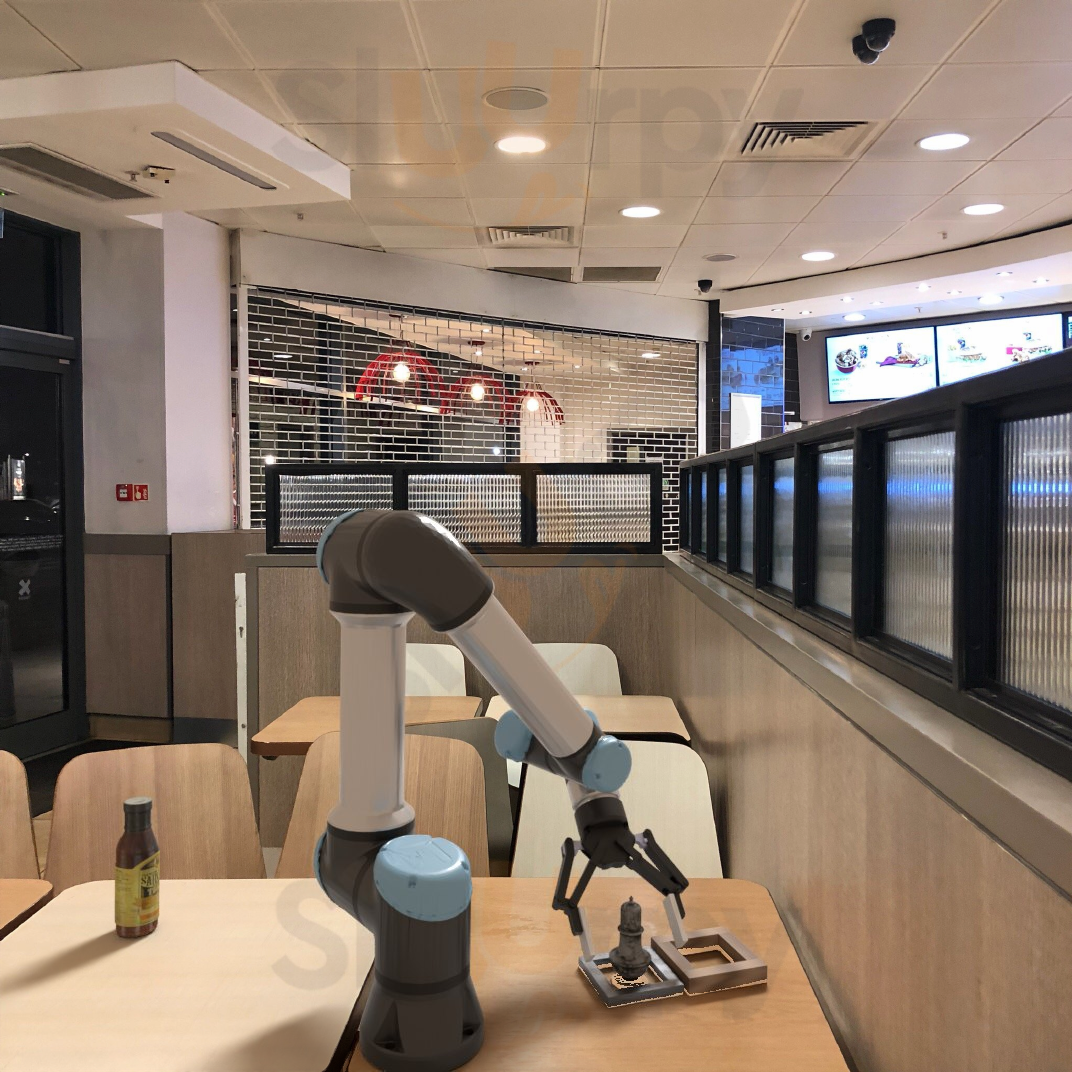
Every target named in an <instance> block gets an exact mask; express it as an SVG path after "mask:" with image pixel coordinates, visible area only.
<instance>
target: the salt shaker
mask: <svg viewBox="0 0 1072 1072" xmlns="http://www.w3.org/2000/svg"><path fill="white" fill-rule="evenodd" d="M619 920H620V921H619V922H620V923H619V925H618V926H617V931H618V932H619V943H618V946H615V947H613V948H611V950H609V951H608V952H609V958H610V960H611V964H612V966H613V967H612V969H613V970H614V973H615V974H616V972H617V973H618V974H619V975H618V974H617V976H622V978H623V979H624V980H626V981H634V980H637V979H638V977H640V976H642V975H643V974H644V975H645V973H646V972H647V971H648V969H649V968H648V966H649V963H650V961H651V959H652V958H651V954H650V953H649V952H648V951H647V950H645V949H644V948H642V947H643V946H642V936H643V935H642V934H643V933H644V932H645V927H644V926H642V906H641V904H640V903H638V902H636V901H634V897H633V896H632V895H630V896H629V897H628V900H627V901H624V902H623V903H622V904H621V906H620V919H619ZM614 977H616V976H614ZM616 979H620V978H616ZM616 979H615V980H616ZM621 980H622V979H621ZM616 981H617V982H618V983H617V984H620V985H624V986H638V985H641V984H644V982H642V983H634V984H631V983H621V982H619V981H620V980H616ZM622 982H624V981H622ZM630 984H631V985H630ZM636 984H638V985H636Z"/></svg>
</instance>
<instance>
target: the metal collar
mask: <svg viewBox="0 0 1072 1072" xmlns="http://www.w3.org/2000/svg"><path fill="white" fill-rule="evenodd" d="M642 948H644V949H645V950H647V951H648V952H649V953H650V954H651V958H652V959H651V961H650V963H649V965H650V966H651V967H652V968H653V969H654V971H655V972H656V973H657V975H658V976H659V977H660V978H661V979H662V980H663V982H660V981H657V982H652V983H649V984H645V985H639V986H633V987H627V988H621V989H618V988H614V986H612V985H611V984H612V983H611V982H609V980H608V979H607V978H606V976H605V975H604V973H603V972H602V971H601V969H599V968H598V967H597V966H598V965H602V964H608V963H611V960H610V958H609V952H610V951H606V952H600V953H596V955H595V957H594V958H593V959H592V961H591V962H586V963H585V959H584V955H580V956H578V961H577V962H578V964H579V966H580V967H581V968H582V969H583V971H584V972H585V974H586V975H587V977H588V978H589V980H590V982H591V983H592V985H593V986H594V988H595V989H596V990H597V992H598V993H599V995H598V996H599V998H600V997H601V998H602V999H601V998H600V999H601V1001H602V1000H603V1001H604V1002H605V1003H606V1004H607V1006H608V1007H611V1006H617V1005H621V1004H627V1003H631V1002H635V1001H636V1002H637V1001H641V1000H645V999H651V998H653V999H654V998H657V997H658V998H659V997H666V996H669V995H670V996H671V995H674V994H676V993H682V992H684V984H683V983H682V981H681V980H680V979H679V978H678V977H677V976H676V975H675V974H674V973H673V972H672V970H671V969H670V968H669V967H668V966H667V965H666V964H665V963H664V962H663V960H662V959H661V958H660V957H659V956H658V955H657V954H656V953H655V952H654V951H653V949H652V948H651V945H646V946H645V945H644V946H642ZM578 964H577V965H578ZM590 982H589V983H590ZM592 985H591V986H592ZM594 988H593V989H594ZM595 989H594V990H595ZM597 992H596V993H597ZM684 993H685V992H684ZM603 1001H602V1002H603ZM604 1002H603V1003H604ZM605 1003H604V1004H605ZM607 1006H606V1007H607Z"/></svg>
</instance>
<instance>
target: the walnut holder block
mask: <svg viewBox="0 0 1072 1072" xmlns="http://www.w3.org/2000/svg"><path fill="white" fill-rule="evenodd" d="M685 932H686V935H687V938H688V941H687V942H686V943H685V944H684V945H683V946H682V947H681V948H676V945H675V941H674V938H673V935H672V933H667V934H662V935H661V934H660V935H655V936H654V935H653V936H650V947H651V948H652V949H653V951H654V952H655V953H656V954H657V955H658V956H659V957H660V958H661V959H662V960H663V962H664V963H665V964H666V965H667V966H668V967H669V968H670V969H671V970H672V972H673V973H674V974H675V975H676V976H677V977H678V978H679V979H680V980H681V981H682V983H683V984H684V988H685V989H686V990H687V992H688V993H689V994H693V993H694V994H695V993H704V992H710V991H716V990H719V989H721V990H722V989H725V988H731V987H736V986H740V985H743V984H749V983H752V982H756V981H760V980H765V979H767V980H768V964H767V963H766V962H764V960H762V959H761V958H760V957H759V956H758V955H757V954H755V952H754V951H752V950H751V949H750V948H749V947H748V946H747V945H746V944H744V943H743V941H741V940H740V939H739V938H737V936H735V935H734V934H733V933H732V932H731V931H730V930H729V929H728V928H726V926H724V925H722V926H721V925H720V926H716V927H715V926H713V927H709V928H708V927H707V928H700V929H694V930H688V931H685ZM713 945H714V946H715V945H719V946H720V947H721V948H722V949H723V950H724V951H725V952H726V953H727V954H728V955H729V956H730V957H731V958H732V959H733V961H734V963H731V962H729V963H724V964H717V965H711V966H705V967H698V968H695V966H694V965H693V964H692V963H690V961H689V960H688V959H687V958H686V957H685V956H683V955H682V954H681V953H680V952H679V951H678V949H683V948H686V949H687V948H691V949H692V948H704V947H709V946H713Z"/></svg>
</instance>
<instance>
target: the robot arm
mask: <svg viewBox="0 0 1072 1072" xmlns="http://www.w3.org/2000/svg"><path fill="white" fill-rule="evenodd" d="M315 559H316V565H317V566H316V567H317V569H318V572H319V574H320V576H321V578H322V579H323V580H324V583H326V585H328V586H329V590H328V592H329V593H328V597H329V598H328V599H329V603H328V608H329V609H328V610H329V613H330V614H331V615H332V616H333V617H334V619H336V620H337V621H338V622H339V625H340V668H339V669H340V678H339V679H340V680H339V681H340V684H339V686H340V688H339V690H340V691H339V692H340V693H339V695H340V696H339V697H340V698H339V699H340V700H339V768H338V769H339V771H338V773H339V777H338V778H339V782H338V783H339V784H338V785H339V786H338V802H337V803H336V804H335V805H334V806H333V808H331V809H330V810H329V811H328V813H327V817H326V827H324V832H323V833H322V834H321V835H319V837H318V839H317V841H316V844H315V847H314V852H313V860H312V861H313V863H312V865H313V872H314V875H315V878H316V881H317V883H318V884H319V886H320V888H321V890H322V891H323V892H324V894H326V897H327V898H328V899H329V900H330V902H332V903H333V904H335V905H337V906H338V908H340V909H342V910H344V911H345V913H348V915H350V916H351V917H352V918H353V919H355V920H356V921H357V922H359V924H361V925H362V926H363V927H364V928H365V929H367V930H368V931H369V932H370V933H372V934H373V937H374V979H373V981H372V982H373V983H372V986H371V988H370V991H369V995H368V998H367V1000H366V1004H365V1007H364V1010H363V1013H362V1016H361V1019H360V1023H359V1050H360V1052H361V1054H362V1056H363V1058H364V1059H365V1060H366V1061H367V1062H368V1063H369V1064H371V1065H372V1066H373V1067H375V1068H376V1069H379V1070H381V1071H383V1072H449V1071H452V1070H454V1069H457V1068H459V1067H461V1066H462V1065H463V1066H464V1064H466V1063H467V1062H469V1061H470V1060H472V1059H473V1057H475V1055H477V1053H478V1052H479V1051H480V1049H481V1048H482V1045H483V1042H484V1035H485V1034H484V1032H485V1031H484V1029H485V1025H484V1024H485V1023H484V1022H485V1021H484V1020H485V1019H484V1014H483V1011H482V1007H481V1004H480V1001H479V998H478V995H477V992H476V989H475V985H474V982H473V979H472V975H471V937H472V936H471V932H472V930H471V929H472V928H471V927H472V924H471V923H472V895H473V892H474V891H473V890H474V889H473V888H474V887H473V881H472V880H473V879H472V872H471V864H470V860H469V857H468V856H467V854H466V853H465V851H464V850H463V849H462V848H461V847H459V846H458V845H457V844H456V843H454V842H452V841H450V840H448V839H445V838H443V837H439V836H438V837H437V836H436V837H434V838H433V837H432V836H431V835H430V834H429V835H428V834H416V812H415V811H416V810H415V809H414V808H413V807H412V806H411V804H410V803H408V802H407V801H406V800H405V749H406V748H405V745H406V743H405V742H406V741H405V740H406V738H405V736H406V684H407V683H406V679H407V678H406V672H407V670H406V668H407V666H406V665H407V626H408V622H409V621H410V620H411V619H412V618H413V617H414V616H415V615H418V616H419V617H420V618H422V619H423V621H425V623H426V624H427V625H428V626H429V628H431V630H433V631H434V632H435V633H437V634H447V635H448V637H449V638H450V639H451V641H452V642H453V643H454V644H455V645H456V646H457V647H458V648H459V650H460V651H461V652H462V653H463V654H464V656H465V657H467V659H468V660H469V661H470V662H471V664H472V665H473V666H474V667H475V668H476V669H477V670H478V672H479V673H480V674H481V675H482V676H483V677H484V678H485V680H486V681H487V682H488V683H489V685H490V686H491V687H492V688H493V689H494V690H495V692H497V694H498V695H499V696H500V697H501V699H502V700H503V701H504V702H505V703H506V704H507V705H508V706H509V708H510V709H509V710H507V711H505V712H504V713H503V714H502V715H501V716H500V717H499V719H498V721H497V724H496V727H495V730H494V735H493V737H494V740H493V742H494V746H495V747H494V748H495V749H496V752H497V753H498V754H499V756H501V757H502V758H504V759H506V760H510V761H512V762H516V763H524V764H528V765H531V766H533V767H535V768H538V769H540V770H543V771H546V772H548V773H551V774H553V775H555V776H559V777H560V778H562V779H564V781H565V785H566V787H567V791H568V796H569V800H570V805H571V807H572V810H573V811H574V815H573V816H574V820H575V824H576V827H577V828H576V829H577V831H578V832H577V833H578V835H579V840H573V838H572V837H569V836H568V837H566V838H565V840H564V841H563V842H562V844H561V847H560V850H561V858H562V860H561V865H560V868H559V873H558V877H557V882H556V885H555V890H554V894H553V900H552V903H551V908H552V910H554V911H563V914H564V915H566V916H567V919H568V923H569V927H570V931H571V934H572V935H573V937H578V938H579V942H580V946H581V950H582V954H583V955H582V956H584V959H585V963H586V962H591V961H592V959H593V958H594V957H595V955H596V954H597V952H596V950H595V944H594V941H593V937H592V933H591V929H590V925H589V921H588V916H587V913H586V909H585V906H584V905H579V903H580V901H581V899H582V896H583V894H584V892H585V890H586V889H587V886H588V885H589V882H590V881H591V878H592V877H593V875H594V873H595V870H596V868H598V869H601V871H605V870H606V871H607V870H609V869H612V868H613V869H621V868H623V867H624V866H625V867H626V868H627V869H629V870H630V871H634V873H636V874H637V875H638V876H640V877H641V878H642V879H643V880H645V882H647V883H648V884H649V885H650V886H652V887H653V888H654V889H656V890H657V891H658V892H659V893H660V894H661V895H662V896H664V897H665V898H664V899H663V900H662V904H663V908H664V911H665V914H666V918H667V921H668V925H669V928H670V931H671V934H672V935H673V938H674V941H675V945H676V948H681V947H682V946H683V945H684V944H685V943H686V942H687V941H688V938H687V935H686V932H687V931H686V929H685V926H684V923H683V920H684V918H685V917H686V912H685V908H684V905H683V902H682V899H681V894H683V893H684V891H685V890H686V889H687V888H688V887H689V885H690V882H689V880H688V879H687V878H686V876H685V875H684V874H683V873H682V871H680V869H679V868H678V867H677V866H676V865H675V863H674V862H673V860H672V859H671V858H670V857H669V855H667V853H666V852H665V851H664V849H662V848H661V846H660V845H659V844H658V843H657V842H656V838H655V837H654V834H653V832H652V830H651V829H650V828H645V829H644V830H643V832H639V833H636V834H634V833H633V832H632V831H631V829H630V826H629V821H628V818H627V814H626V810H625V807H624V804H623V801H622V800H621V793H620V788H622V787H623V785H624V784H625V783H626V781H627V780H628V778H629V776H630V774H631V770H632V765H633V761H632V759H633V758H632V754H631V753H632V752H631V750H630V748H629V747H628V745H627V744H626V743H625V742H624V741H622V740H621V739H617V738H616V737H615V736H613V735H610V734H606V733H604V732H603V730H602V729H601V726H600V723H599V720H598V718H597V715H596V714H595V713H594V712H593V710H591V709H588V708H585V707H583V706H582V705H581V704H580V702H579V701H578V700H577V698H576V697H575V696H574V695H573V693H571V691H570V690H569V688H568V687H567V685H565V684H564V682H563V681H562V679H561V678H560V677H559V676H558V675H557V673H556V672H555V671H554V669H553V668H552V667H551V666H550V664H549V663H548V662H547V660H545V658H544V657H543V656H542V655H541V653H540V652H539V651H538V649H537V648H536V646H535V645H534V644H533V642H532V641H530V639H529V638H528V637H527V636H526V634H525V633H524V631H523V630H522V629H521V628H520V627H519V625H518V624H517V623H516V621H515V620H514V619H513V617H511V615H510V614H509V613H508V611H507V610H506V609H505V608H504V606H503V605H502V603H501V602H500V601H499V600H498V599H497V598H496V596H495V595H494V592H495V590H496V588H495V582H494V581H493V579H492V578H491V577H490V575H489V574H488V573H487V572H486V571H485V569H484V568H483V566H482V565H481V564H480V563H479V561H478V560H477V559H476V558H475V557H474V556H473V555H472V554H471V552H470V551H469V550H468V549H467V548H466V546H465V545H464V544H463V543H462V542H461V541H460V540H459V539H458V538H457V537H456V536H455V535H454V534H453V532H451V531H450V530H449V529H448V528H447V527H446V526H444V525H443V523H440V522H439V521H437V520H436V519H435V518H433V517H431V516H429V515H427V514H424V513H422V512H418V511H415V510H414V511H413V510H403V509H402V510H395V509H394V510H392V509H378V508H372V507H370V508H360V509H355V510H350V511H347V512H345V513H343V514H341V515H339V516H337V517H336V518H334V519H333V520H332V521H331V522H330V523H329V525H327V527H326V528H325V529H324V530H323V532H322V534H321V536H320V538H319V540H318V544H317V547H316V558H315ZM635 845H638V848H639V849H641V850H643V852H644V853H645V855H646V856H647V857H648V859H649V860H650V861H651V862H652V863H653V864H652V863H651V862H650V861H648V860H647V859H646V858H644V857H643V854H642V853H641V852H640V851H639V850H637V849H636V848H635V847H634V846H635ZM579 851H580V852H581V853H582V854H583V855H584V856H585V857H586V858H587V859H588V862H587V863H586V865H585V868H584V870H583V872H582V873H581V875H580V878H579V879H578V882H577V884H576V885H575V887H574V889H573V891H572V893H571V895H570V897H569V898H568V897H566V895H567V891H568V886H569V882H570V877H571V874H572V873H571V872H572V868H573V865H574V859H575V857H576V856H577V854H578V853H579Z"/></svg>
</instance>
